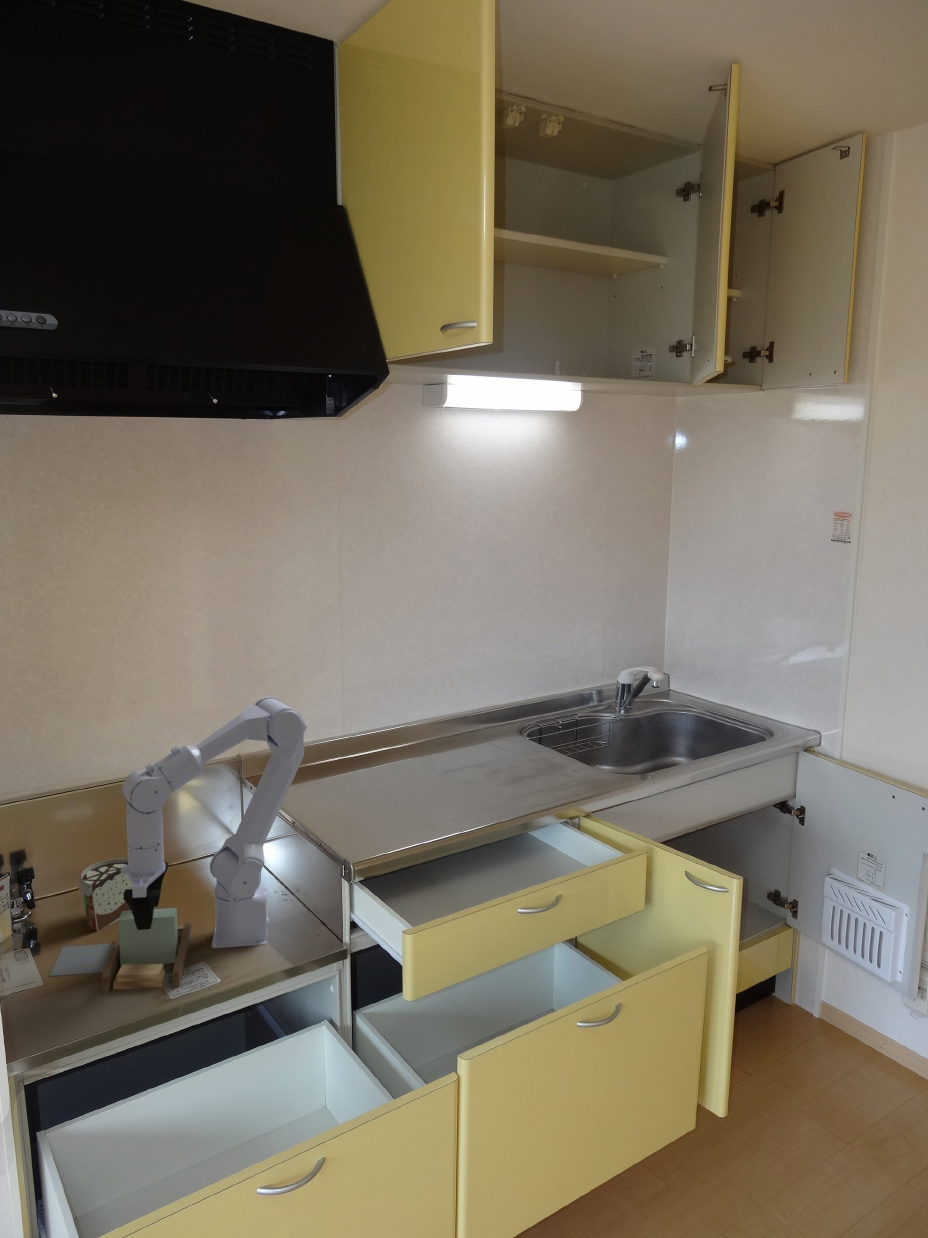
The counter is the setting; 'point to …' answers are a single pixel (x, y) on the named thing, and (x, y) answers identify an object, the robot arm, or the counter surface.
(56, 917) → the counter surface
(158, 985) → the offcut middle
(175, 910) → the sage panel
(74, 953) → the slate mat
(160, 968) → the offcut top
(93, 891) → the food container
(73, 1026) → the counter surface
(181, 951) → the walnut rack
